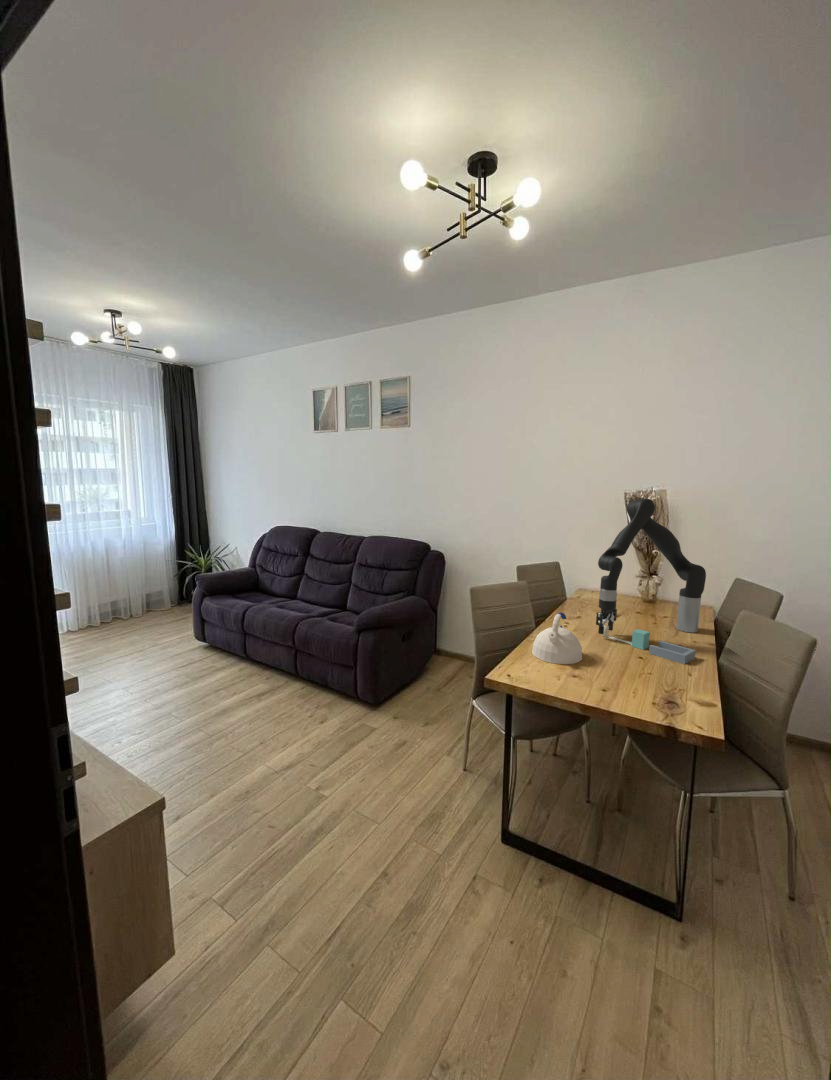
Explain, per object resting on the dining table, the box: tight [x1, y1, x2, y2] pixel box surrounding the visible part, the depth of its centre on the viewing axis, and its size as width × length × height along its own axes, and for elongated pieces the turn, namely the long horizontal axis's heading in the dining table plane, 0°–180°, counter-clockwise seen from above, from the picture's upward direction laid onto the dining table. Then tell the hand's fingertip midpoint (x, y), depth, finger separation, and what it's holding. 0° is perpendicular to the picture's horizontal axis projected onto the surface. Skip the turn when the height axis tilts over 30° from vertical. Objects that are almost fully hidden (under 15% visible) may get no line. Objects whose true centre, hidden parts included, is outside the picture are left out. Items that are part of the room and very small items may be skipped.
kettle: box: [531, 612, 583, 665], centre depth 187 cm, size 20×21×18 cm
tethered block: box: [601, 624, 651, 651], centre depth 204 cm, size 5×20×7 cm, turn 37°
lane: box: [648, 640, 696, 665], centre depth 188 cm, size 10×14×4 cm
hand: (605, 631), depth 211 cm, fingers open, 8 cm apart
